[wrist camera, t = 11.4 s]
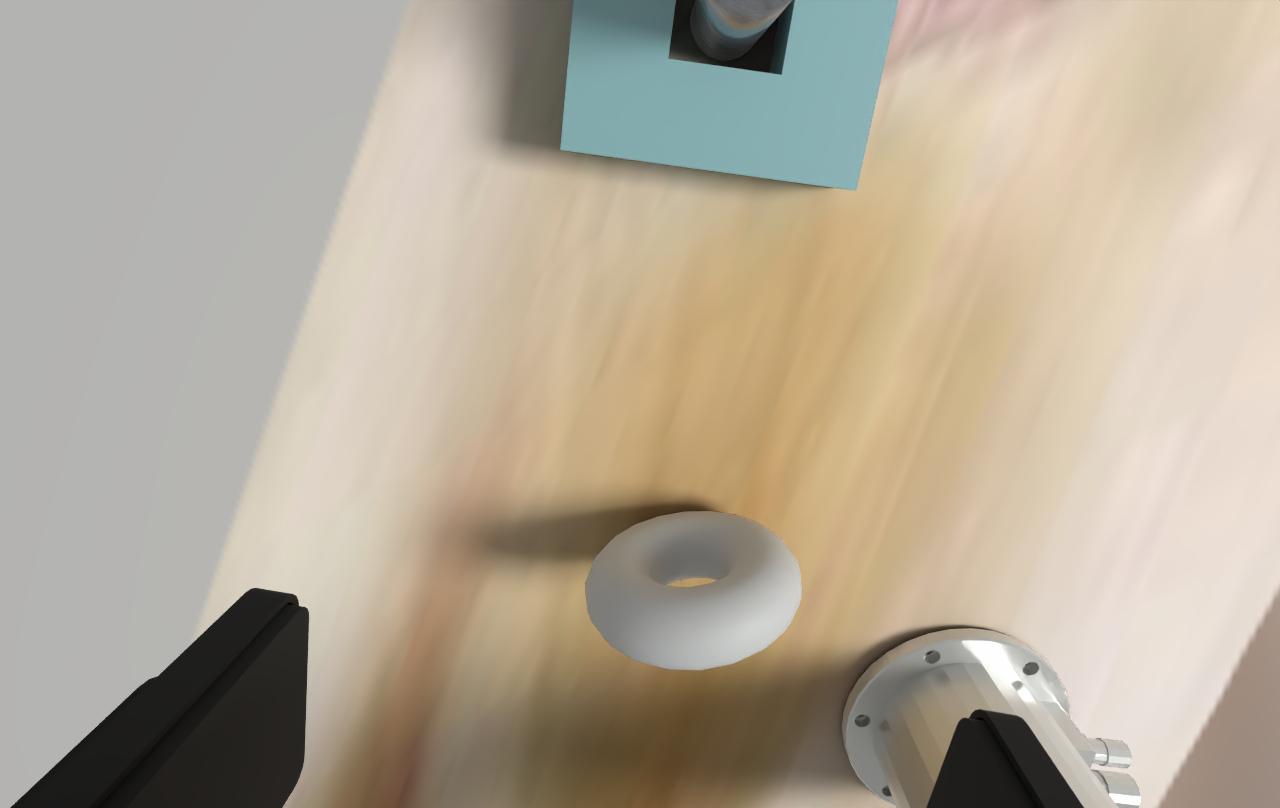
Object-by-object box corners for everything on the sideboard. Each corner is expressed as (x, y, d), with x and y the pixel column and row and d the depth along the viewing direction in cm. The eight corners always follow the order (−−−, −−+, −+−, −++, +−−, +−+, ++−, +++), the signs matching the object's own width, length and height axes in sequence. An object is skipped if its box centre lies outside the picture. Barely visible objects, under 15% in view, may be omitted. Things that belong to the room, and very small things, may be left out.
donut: (597, 566, 38) (580, 698, 29) (588, 509, 37) (568, 627, 27) (782, 548, 38) (827, 677, 28) (779, 490, 36) (825, 604, 27)
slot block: (900, -127, 28) (934, -166, 24) (834, 188, 32) (856, 190, 28) (599, -172, 27) (592, -219, 24) (569, 151, 31) (560, 149, 28)
